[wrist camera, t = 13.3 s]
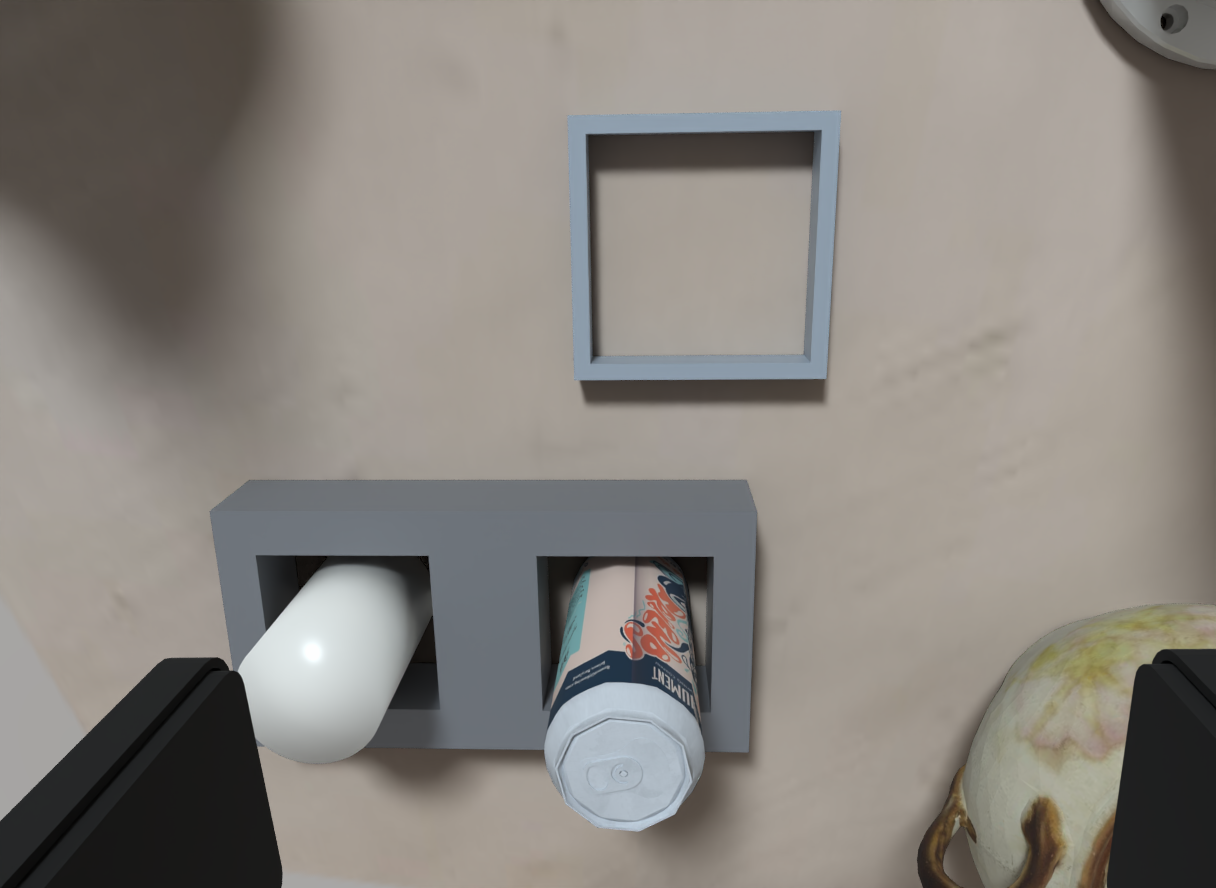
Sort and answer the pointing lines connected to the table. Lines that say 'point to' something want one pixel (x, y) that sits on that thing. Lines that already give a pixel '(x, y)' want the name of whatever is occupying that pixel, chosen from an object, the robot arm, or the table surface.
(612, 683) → the beer can
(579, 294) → the hollow square frame
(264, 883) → the robot arm
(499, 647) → the two-slot holder block
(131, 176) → the table surface
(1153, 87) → the table surface
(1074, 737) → the sugar bowl
